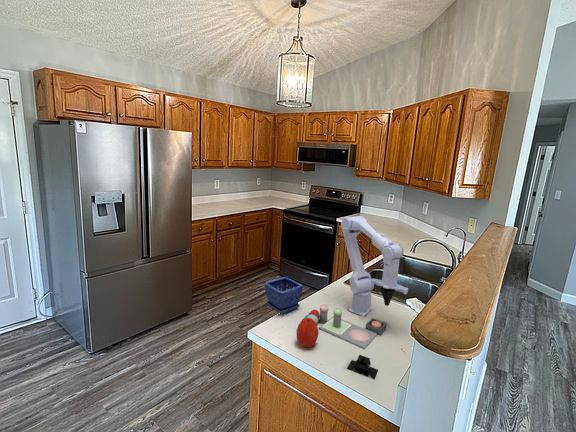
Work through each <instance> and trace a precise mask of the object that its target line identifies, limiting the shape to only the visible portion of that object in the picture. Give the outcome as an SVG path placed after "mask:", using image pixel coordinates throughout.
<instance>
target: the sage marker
mask: <svg viewBox="0 0 576 432" xmlns="http://www.w3.org/2000/svg"><path fill="white" fill-rule="evenodd" d="M333 316H334V317H333ZM333 316H332V317H333V327H335V328H340V327H341V319H342V316H343V309H342V308H339V307H336V308H334V309H333Z"/></svg>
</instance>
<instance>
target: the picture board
mask: <svg viewBox="0 0 576 432" xmlns="http://www.w3.org/2000/svg"><path fill="white" fill-rule="evenodd" d="M333 317H334V315H333V316H332V317H331V318H329V319H327V322H325V323H324V324H321V325H320V326H318V330H321V331H323V332H326V333H328V334H330V335H332V336H333V337H336V338H338V339H341V340H343V341H345V342H347V343H349V344H352V345H354V346H357V347H359V348H361V349H363V350H365V349H366V348H367V347H368V346H369V344H371V343H372V341H373V340H374V339H375V338H376V337H377V336H378V335H377V333H374V332H372V331H369V330H367V329H365V328H364V327H362V326H359V325H357V324H354V323H351V322H349V321H347V320H344V319H342V318H341V327H340V328H335V327H333Z"/></svg>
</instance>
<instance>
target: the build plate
mask: <svg viewBox="0 0 576 432" xmlns="http://www.w3.org/2000/svg"><path fill="white" fill-rule="evenodd" d="M371 365H372V363H371V358H369V357H367V356H364V355H362V354H359V355H358V357H357V359H356V360H353V359H351V360H350V362H349V363H348V366H346V370H347V371H351V372H353V373H356V374H358V375H361V376H364V377H366V378H369V379H372V380H374V381H375V380H376V377H377V374H378V373H379V369H377V368H375V367H372V366H371Z"/></svg>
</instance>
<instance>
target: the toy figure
mask: <svg viewBox="0 0 576 432" xmlns="http://www.w3.org/2000/svg"><path fill="white" fill-rule="evenodd" d="M304 318H311V319H313V320H314V322H315V323H316V325H317V324H318V322H319V319H320V311H319V310H317V309H313V310H311V311H309V313H308V314H306V315H305V316H304V317H303V319H304Z"/></svg>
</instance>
